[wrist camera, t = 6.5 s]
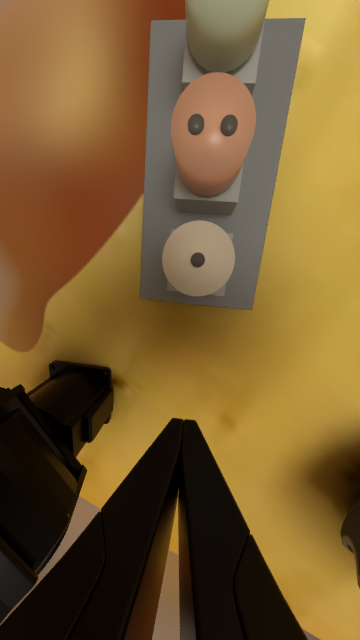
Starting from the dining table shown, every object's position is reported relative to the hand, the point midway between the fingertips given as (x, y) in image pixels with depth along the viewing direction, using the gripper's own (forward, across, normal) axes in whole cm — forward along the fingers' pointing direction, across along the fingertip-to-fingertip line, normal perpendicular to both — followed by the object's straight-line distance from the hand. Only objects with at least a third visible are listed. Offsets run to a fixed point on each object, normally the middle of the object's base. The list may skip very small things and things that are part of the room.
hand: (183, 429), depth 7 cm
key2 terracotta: (+9, 0, -12) cm, 15 cm away
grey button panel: (+11, 0, -12) cm, 16 cm away
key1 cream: (+9, 0, -6) cm, 11 cm away
